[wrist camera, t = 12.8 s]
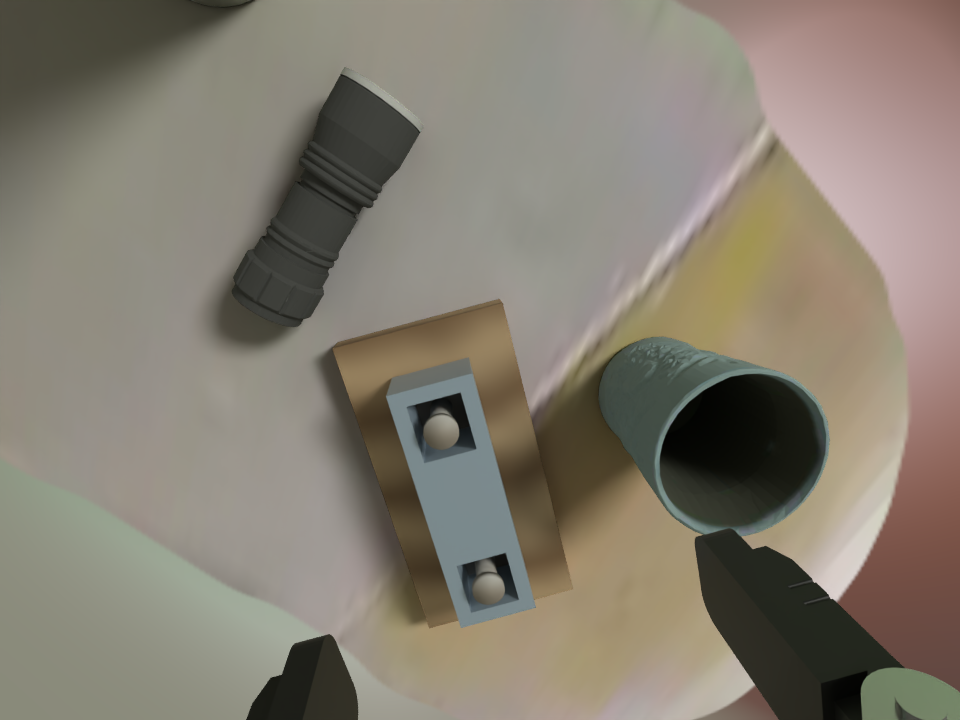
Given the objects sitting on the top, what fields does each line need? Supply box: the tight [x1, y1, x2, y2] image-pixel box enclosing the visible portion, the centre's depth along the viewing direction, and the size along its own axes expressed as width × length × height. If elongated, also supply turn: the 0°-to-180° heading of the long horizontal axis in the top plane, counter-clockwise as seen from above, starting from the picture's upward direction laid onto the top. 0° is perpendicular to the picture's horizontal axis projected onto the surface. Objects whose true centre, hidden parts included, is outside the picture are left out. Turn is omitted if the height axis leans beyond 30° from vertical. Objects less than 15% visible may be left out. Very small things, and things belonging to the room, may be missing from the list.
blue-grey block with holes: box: [386, 357, 536, 628], centre depth 36 cm, size 18×6×4 cm, turn 14°
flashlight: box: [232, 67, 424, 327], centre depth 32 cm, size 15×5×5 cm, turn 147°
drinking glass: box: [599, 337, 830, 536], centre depth 33 cm, size 10×10×12 cm
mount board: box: [332, 299, 573, 628], centre depth 36 cm, size 24×12×7 cm, turn 15°
